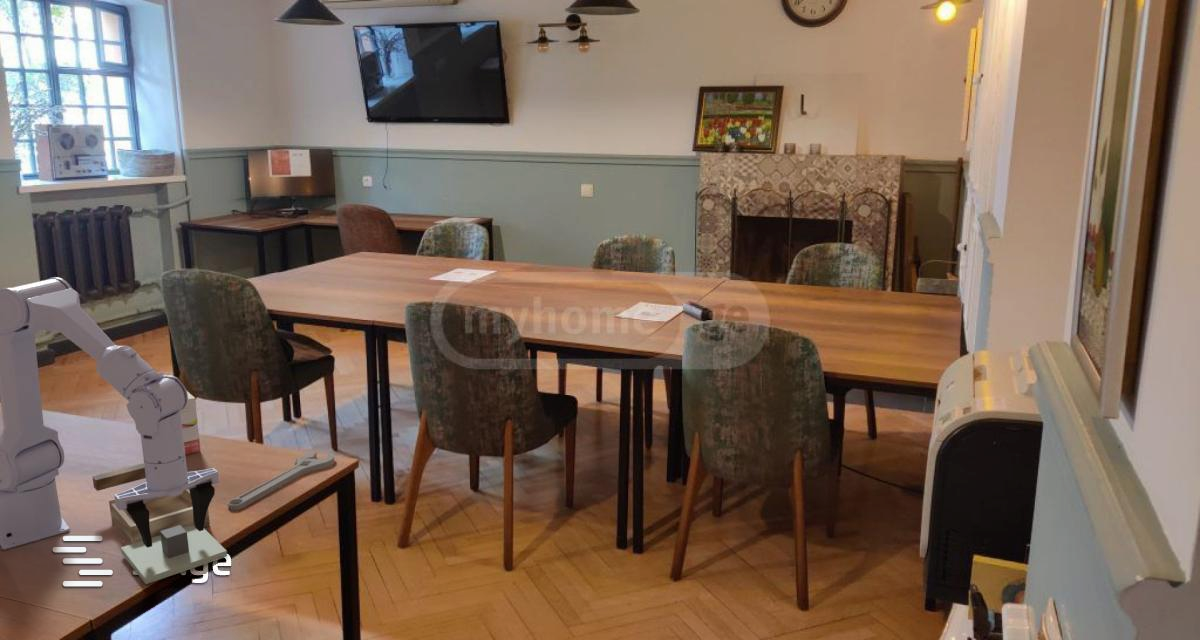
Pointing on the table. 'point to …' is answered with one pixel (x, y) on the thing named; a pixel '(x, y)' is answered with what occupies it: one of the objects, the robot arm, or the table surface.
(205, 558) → the lid
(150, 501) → the open wooden tray
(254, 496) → the adjustable wrench
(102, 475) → the brown rectangular block
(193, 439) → the ink cartridge box
